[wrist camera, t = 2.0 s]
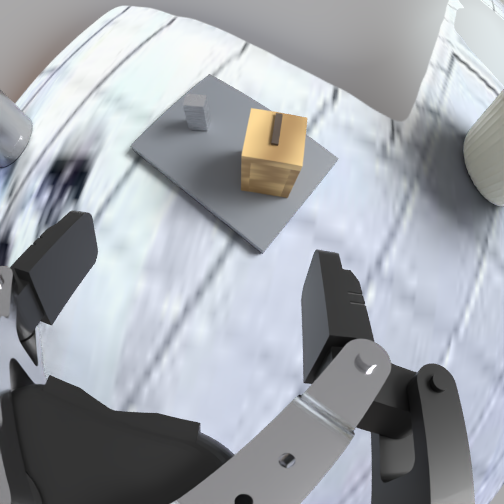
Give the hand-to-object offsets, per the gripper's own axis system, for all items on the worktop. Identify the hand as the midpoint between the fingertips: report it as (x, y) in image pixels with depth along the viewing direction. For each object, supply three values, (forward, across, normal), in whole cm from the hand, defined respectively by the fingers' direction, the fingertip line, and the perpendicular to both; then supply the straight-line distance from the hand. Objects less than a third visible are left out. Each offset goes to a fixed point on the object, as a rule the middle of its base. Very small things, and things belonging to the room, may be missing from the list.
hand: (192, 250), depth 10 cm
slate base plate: (+26, +2, +4) cm, 26 cm away
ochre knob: (+23, -2, +5) cm, 23 cm away
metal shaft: (+26, +6, +2) cm, 27 cm away
